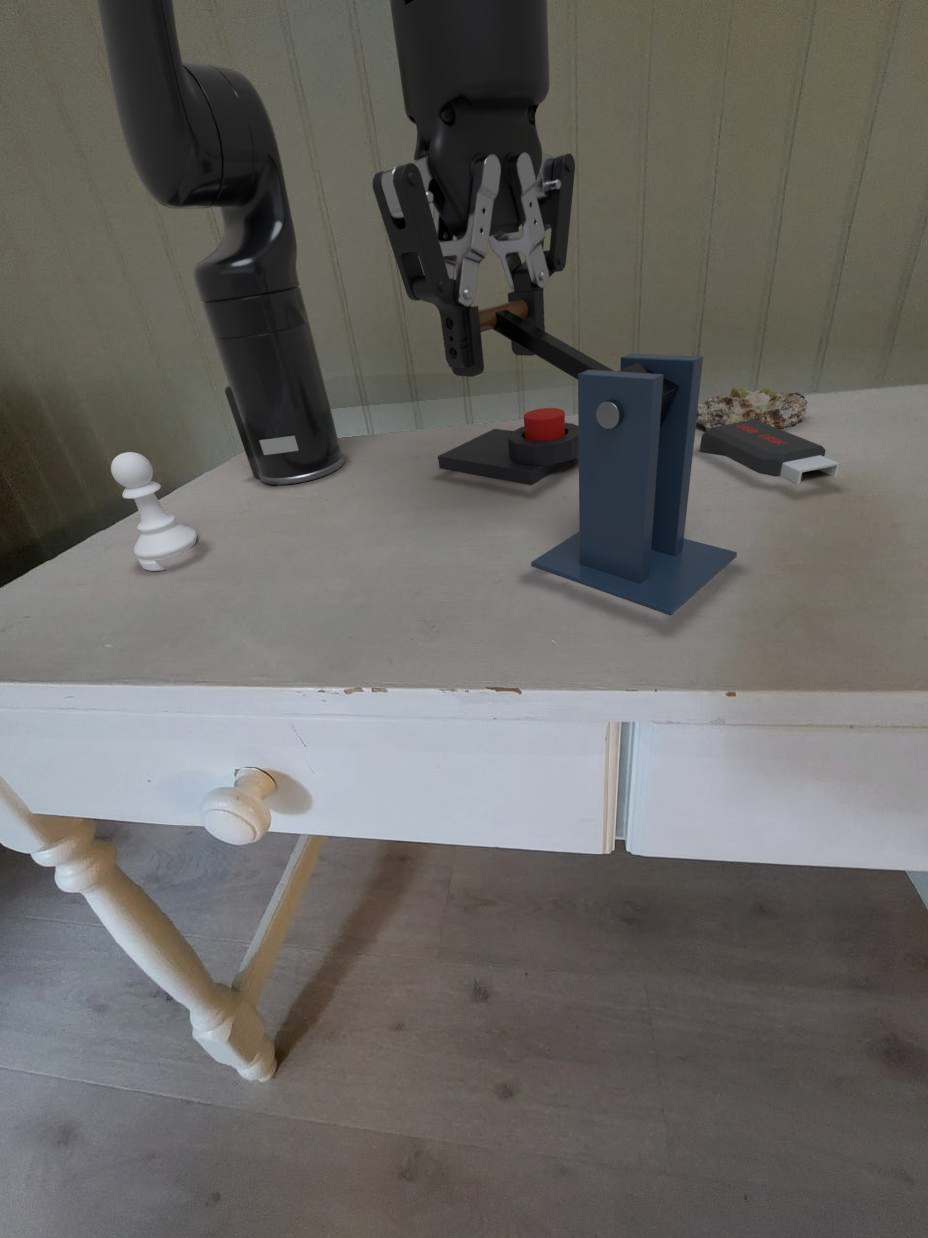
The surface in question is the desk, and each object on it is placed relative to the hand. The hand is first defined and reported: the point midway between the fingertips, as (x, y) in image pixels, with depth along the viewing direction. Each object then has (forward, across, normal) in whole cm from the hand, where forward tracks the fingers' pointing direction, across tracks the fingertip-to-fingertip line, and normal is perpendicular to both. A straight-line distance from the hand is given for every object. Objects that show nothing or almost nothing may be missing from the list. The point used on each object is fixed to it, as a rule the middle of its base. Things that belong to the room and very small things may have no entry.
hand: (498, 362), depth 36 cm
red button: (+9, -11, -6) cm, 15 cm away
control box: (+12, -11, -10) cm, 19 cm away
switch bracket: (+13, 0, +10) cm, 16 cm away
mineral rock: (+13, -32, +4) cm, 34 cm away
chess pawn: (+13, +18, -23) cm, 32 cm away
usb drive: (+13, -21, +10) cm, 27 cm away
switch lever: (+1, 0, +5) cm, 5 cm away
